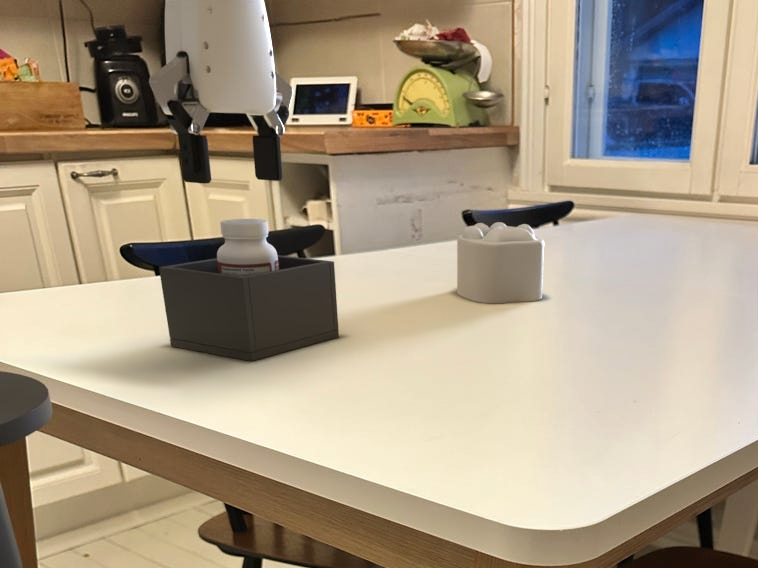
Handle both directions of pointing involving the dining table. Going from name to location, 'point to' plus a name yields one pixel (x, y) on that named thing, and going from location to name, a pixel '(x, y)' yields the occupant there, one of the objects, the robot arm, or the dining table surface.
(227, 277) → the basket
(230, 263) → the pill bottle
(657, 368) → the dining table surface
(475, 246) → the lumpy-topped squat cylinder
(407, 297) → the dining table surface
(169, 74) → the robot arm
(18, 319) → the dining table surface
